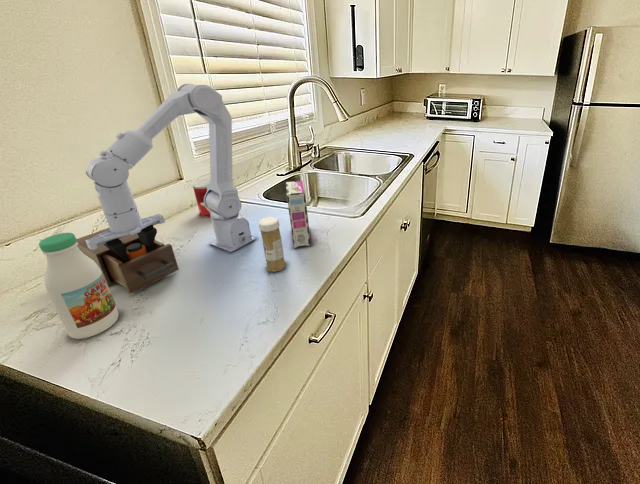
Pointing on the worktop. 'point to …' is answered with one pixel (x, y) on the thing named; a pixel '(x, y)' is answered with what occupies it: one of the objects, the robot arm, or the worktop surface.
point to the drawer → (141, 267)
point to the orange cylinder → (136, 250)
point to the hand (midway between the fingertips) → (139, 260)
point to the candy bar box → (298, 213)
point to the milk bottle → (77, 288)
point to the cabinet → (102, 251)
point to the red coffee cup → (201, 196)
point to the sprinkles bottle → (272, 243)
